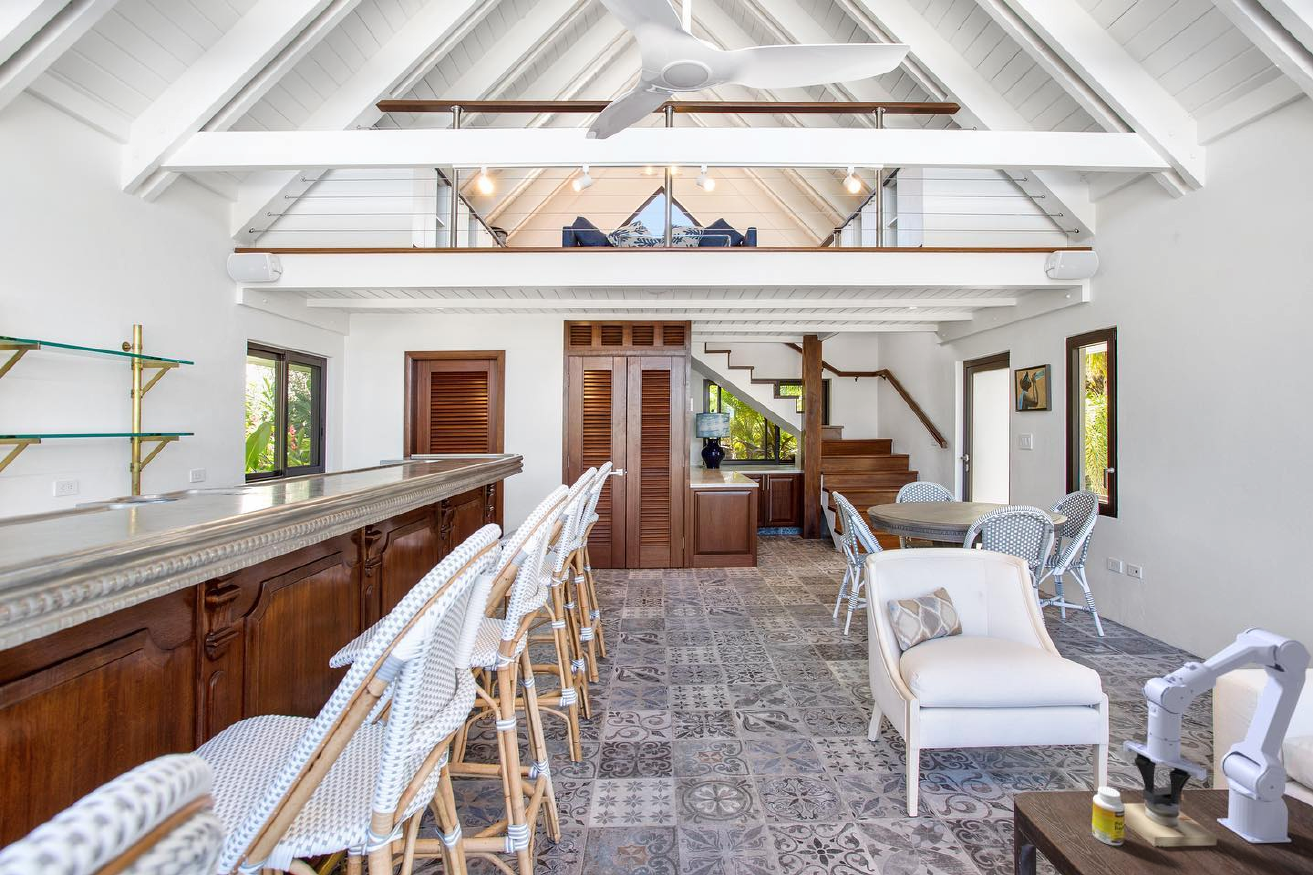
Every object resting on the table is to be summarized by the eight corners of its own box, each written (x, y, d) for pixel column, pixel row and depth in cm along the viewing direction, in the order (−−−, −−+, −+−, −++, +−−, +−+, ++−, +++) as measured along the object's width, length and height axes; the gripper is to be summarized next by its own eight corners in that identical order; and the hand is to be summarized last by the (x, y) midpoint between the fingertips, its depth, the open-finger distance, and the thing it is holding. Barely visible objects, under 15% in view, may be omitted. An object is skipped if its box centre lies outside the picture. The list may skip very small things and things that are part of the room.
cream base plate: (1167, 811, 148) (1167, 793, 147) (1216, 844, 136) (1217, 826, 136) (1109, 812, 146) (1110, 795, 146) (1154, 846, 135) (1155, 827, 134)
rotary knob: (1135, 801, 143) (1136, 784, 143) (1167, 799, 145) (1168, 782, 145) (1160, 817, 138) (1161, 799, 137) (1193, 815, 139) (1194, 797, 139)
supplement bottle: (1116, 850, 133) (1118, 801, 133) (1087, 835, 138) (1088, 788, 138) (1128, 841, 136) (1129, 793, 136) (1098, 827, 141) (1100, 781, 141)
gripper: (1118, 726, 145) (1115, 785, 145) (1198, 754, 133) (1195, 819, 133) (1131, 719, 149) (1129, 777, 149) (1211, 746, 136) (1208, 809, 136)
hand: (1161, 796), depth 141 cm, fingers closed on rotary knob, 4 cm apart
